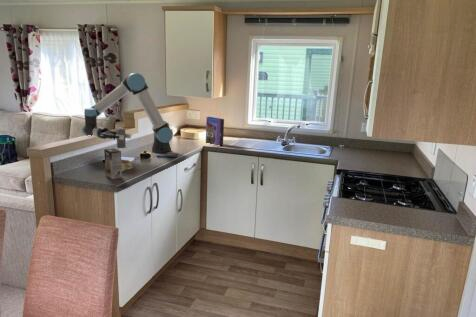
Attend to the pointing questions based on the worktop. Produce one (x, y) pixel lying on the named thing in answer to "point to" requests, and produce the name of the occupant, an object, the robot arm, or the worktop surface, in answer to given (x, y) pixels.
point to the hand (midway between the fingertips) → (126, 137)
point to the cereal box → (214, 130)
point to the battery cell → (120, 142)
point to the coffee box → (113, 163)
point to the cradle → (126, 165)
